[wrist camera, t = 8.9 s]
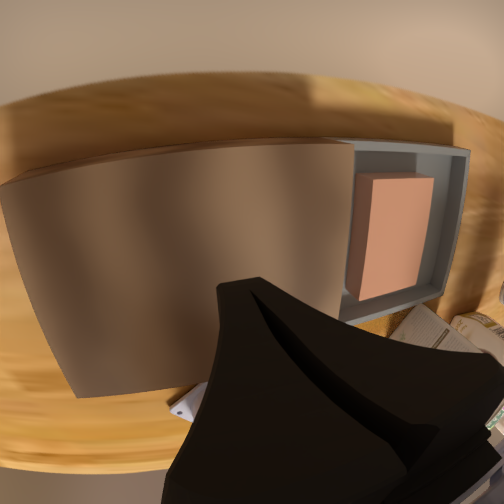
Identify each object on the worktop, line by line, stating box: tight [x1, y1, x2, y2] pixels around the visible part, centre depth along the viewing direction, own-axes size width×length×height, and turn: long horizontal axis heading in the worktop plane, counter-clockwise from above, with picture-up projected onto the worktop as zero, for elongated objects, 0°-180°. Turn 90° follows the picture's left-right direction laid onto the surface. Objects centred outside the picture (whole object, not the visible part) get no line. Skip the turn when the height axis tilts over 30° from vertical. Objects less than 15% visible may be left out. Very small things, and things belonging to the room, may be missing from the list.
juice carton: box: [450, 312, 504, 435], centre depth 27 cm, size 8×9×19 cm
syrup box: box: [389, 303, 504, 430], centre depth 24 cm, size 6×6×14 cm
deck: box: [0, 137, 355, 398], centre depth 18 cm, size 18×14×4 cm
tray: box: [321, 137, 471, 326], centre depth 23 cm, size 14×14×2 cm
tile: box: [345, 172, 434, 301], centre depth 22 cm, size 6×9×2 cm, turn 2°
